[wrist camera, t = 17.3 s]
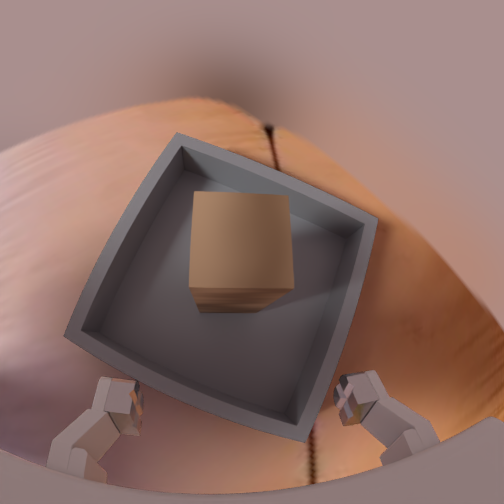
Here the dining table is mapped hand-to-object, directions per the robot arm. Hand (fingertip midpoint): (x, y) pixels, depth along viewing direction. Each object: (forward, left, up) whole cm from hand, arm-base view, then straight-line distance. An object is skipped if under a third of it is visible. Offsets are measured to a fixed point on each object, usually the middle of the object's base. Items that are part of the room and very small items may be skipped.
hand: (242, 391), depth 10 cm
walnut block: (-2, +6, -13) cm, 15 cm away
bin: (-2, +6, -14) cm, 16 cm away
